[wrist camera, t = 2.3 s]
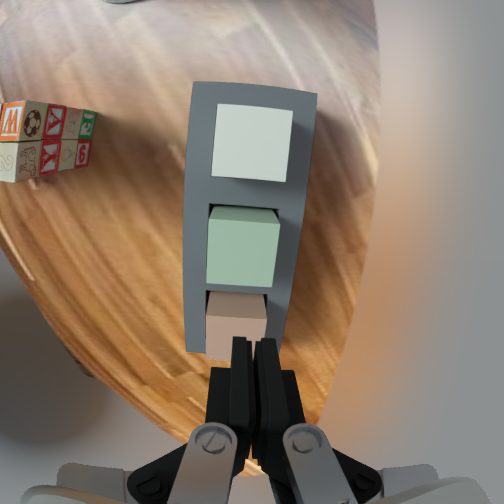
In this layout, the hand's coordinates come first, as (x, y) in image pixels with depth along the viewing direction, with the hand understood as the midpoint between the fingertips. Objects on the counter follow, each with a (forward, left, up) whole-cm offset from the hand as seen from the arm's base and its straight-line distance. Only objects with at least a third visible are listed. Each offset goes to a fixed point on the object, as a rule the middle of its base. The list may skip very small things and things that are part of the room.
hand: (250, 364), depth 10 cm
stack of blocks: (-11, -28, -19) cm, 35 cm away
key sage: (-1, 0, -15) cm, 15 cm away
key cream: (-9, 0, -15) cm, 18 cm away
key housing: (-1, 0, -19) cm, 19 cm away
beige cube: (+7, 0, -15) cm, 17 cm away
